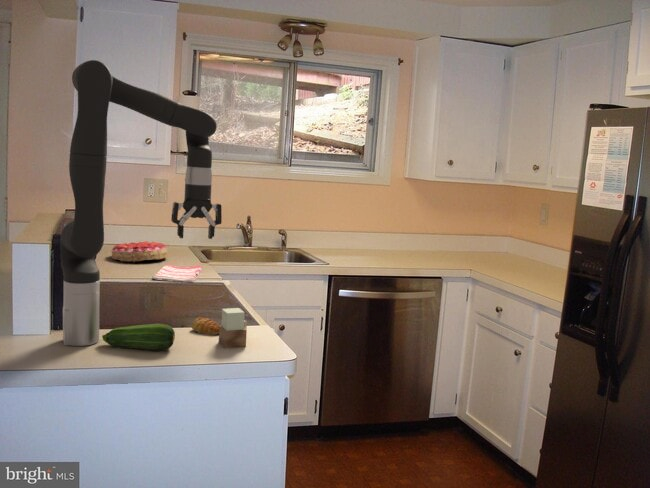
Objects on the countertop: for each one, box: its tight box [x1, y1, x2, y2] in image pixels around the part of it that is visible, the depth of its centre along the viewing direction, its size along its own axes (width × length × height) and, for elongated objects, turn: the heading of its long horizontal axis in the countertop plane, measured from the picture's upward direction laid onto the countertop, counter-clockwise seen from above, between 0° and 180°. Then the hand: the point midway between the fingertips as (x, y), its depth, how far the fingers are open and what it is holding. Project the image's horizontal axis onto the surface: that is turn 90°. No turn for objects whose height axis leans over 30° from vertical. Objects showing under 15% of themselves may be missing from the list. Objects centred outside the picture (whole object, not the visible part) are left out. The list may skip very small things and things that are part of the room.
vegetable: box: [101, 323, 176, 352], centre depth 179 cm, size 7×7×20 cm
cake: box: [111, 240, 169, 263], centre depth 306 cm, size 25×25×8 cm
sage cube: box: [221, 307, 245, 331], centre depth 186 cm, size 5×5×5 cm
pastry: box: [191, 316, 221, 336], centre depth 199 cm, size 9×7×4 cm
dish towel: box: [151, 264, 203, 283], centre depth 275 cm, size 17×23×4 cm
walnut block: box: [218, 325, 248, 350], centre depth 187 cm, size 6×6×5 cm
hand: (195, 238), depth 193 cm, fingers open, 8 cm apart
